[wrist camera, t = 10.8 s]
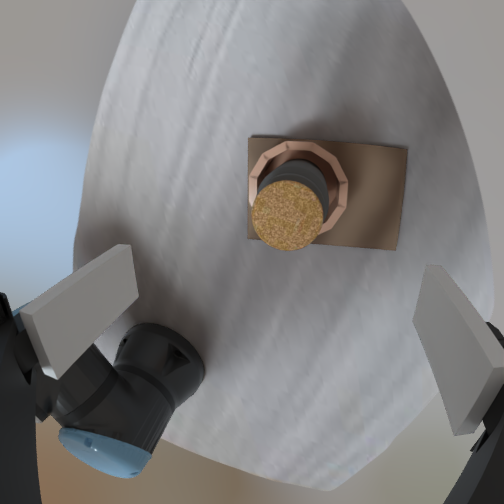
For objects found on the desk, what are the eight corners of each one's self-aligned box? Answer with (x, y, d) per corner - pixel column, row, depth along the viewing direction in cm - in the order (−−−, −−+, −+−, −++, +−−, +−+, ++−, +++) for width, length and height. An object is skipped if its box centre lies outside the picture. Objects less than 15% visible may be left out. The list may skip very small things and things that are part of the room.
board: (249, 236, 39) (247, 238, 38) (249, 137, 35) (248, 137, 34) (393, 247, 36) (395, 250, 35) (404, 149, 31) (407, 149, 30)
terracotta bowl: (257, 221, 37) (248, 235, 32) (258, 139, 34) (249, 140, 29) (339, 227, 35) (343, 242, 31) (345, 144, 32) (350, 145, 27)
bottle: (294, 147, 33) (277, 153, 19) (336, 180, 33) (350, 211, 19) (262, 188, 35) (225, 223, 21) (304, 220, 35) (294, 275, 21)
